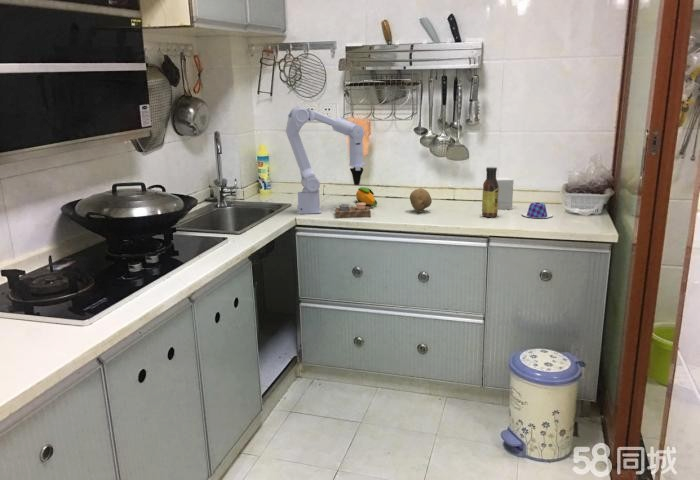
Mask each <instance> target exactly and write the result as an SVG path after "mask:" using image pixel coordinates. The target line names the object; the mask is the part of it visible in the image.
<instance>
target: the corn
mask: <svg viewBox="0 0 700 480" xmlns="http://www.w3.org/2000/svg"><path fill="white" fill-rule="evenodd" d="M355 196H356V197H355V199H356V200H357V201H358V203H359V202H363V203H366V205H371V206H374V207H375V206H377V205H378V201H377V200H376V199H375V197H374V196H375V193H374V191H373V190H372V189H371V188H368V187H365V186H364V187H363V186H362V187H359V188H358V189H357V191H356V194H355Z"/></svg>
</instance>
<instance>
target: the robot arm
mask: <svg viewBox="0 0 700 480" xmlns="http://www.w3.org/2000/svg"><path fill="white" fill-rule="evenodd" d="M313 121H317V122H319V123H323V124H326V125H328V126H331V127H332V130H333V131H335V132H337V133H340V134H343V135H345V136H348V137H349V164H348V165H349V166H350V167H351V168H349V170H350V173H351V176H352V179H353V185H354V186H360V184H361V179H362V174H363V171H364V168H363V166H366V165H367V164H366V162H364V141H363V139H364V136H365V135H366V134H365V133H366V132H365V130H364V128H363V126H362V125H359V124H356V123H355V122H353V121H348V120H346V118H345V117H344V116H343V117H336V118H333V117H331V116H328V115H325V114H324V113H321V112H319V111H316V110H314V109H308V108H305V107H300V106H295V107H293V108H292V109H291V110H290V112H289V114H288V115H287V123H286V127H285V134H286V136H287V139H288V142H289V145H290V147H291V150H292V153H293V155H294V158H295V160H296V163H297V166H298V168H299V172H300V173H299V174H300V177H301V179H300V180H301V181H300V183H301V185H302V187H303V189H302V190H301V191H298V192H297V209H298V215H304V214H305V215H306V214H321V213H322V210H321V204H320V203H321V202H320V201H321V200H320V199H321V198H320V186H321V181H320V180H319V178H317V177H316V175H315V172H314V171H313V169H312V167H311V163H310V161H309V158H308V156H307V153H306V150H305V147H304V144H303V141H302V138H301V136H300V132H301V129H302V127H303V126H304V125H305V124H306V123H307V122H313Z"/></svg>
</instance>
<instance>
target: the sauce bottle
mask: <svg viewBox="0 0 700 480" xmlns="http://www.w3.org/2000/svg"><path fill="white" fill-rule="evenodd" d="M485 169H486V170H485V171H486V179H485V180H484V182H483V184H482V186H483V188H482V198H481V199H482V200H481V201H482V202H481V203H482V204H481V212H482V213H481V215H482V217H486V218H496V217H497V216H498V210H499V209H498V194H499V186H498V183H497V179H496V178H497V171H498V167H496V166H486V168H485Z"/></svg>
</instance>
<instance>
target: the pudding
mask: <svg viewBox="0 0 700 480" xmlns="http://www.w3.org/2000/svg"><path fill="white" fill-rule="evenodd" d="M521 215H522V216H524V217H527V218H531V219H532V218H533V219H546V218H551V217H553V214H552V213H550V212H547V207H546V204H545V203H543V202H531V203H530V204H529V206H528V210H527V211H524V212H523V211H522V213H521Z"/></svg>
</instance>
